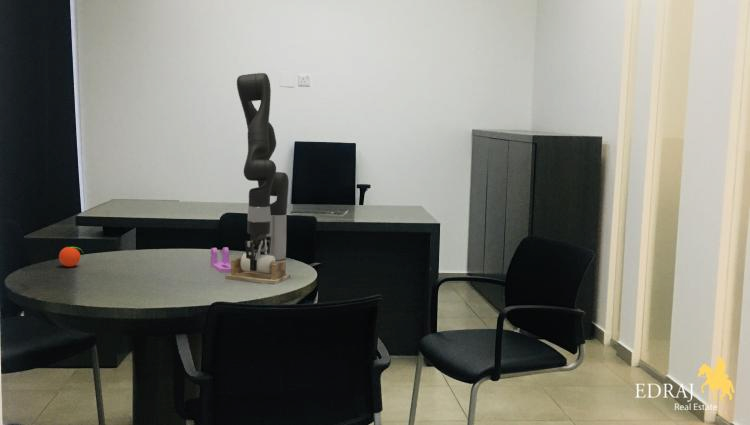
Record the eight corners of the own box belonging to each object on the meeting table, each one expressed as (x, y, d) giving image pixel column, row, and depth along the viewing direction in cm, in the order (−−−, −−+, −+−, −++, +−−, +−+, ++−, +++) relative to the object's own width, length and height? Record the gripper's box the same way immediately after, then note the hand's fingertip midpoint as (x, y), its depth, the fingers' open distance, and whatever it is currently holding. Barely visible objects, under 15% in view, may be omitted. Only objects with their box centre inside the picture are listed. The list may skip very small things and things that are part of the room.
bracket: (210, 266, 274) (210, 247, 274) (225, 265, 277) (226, 246, 276) (220, 273, 263) (221, 253, 262) (236, 272, 265) (236, 252, 265)
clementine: (84, 264, 269) (84, 244, 268) (83, 268, 262) (83, 247, 261) (59, 264, 266) (59, 244, 265) (58, 268, 260) (58, 248, 259)
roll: (238, 271, 255) (239, 254, 254) (247, 268, 261) (247, 251, 260) (268, 275, 251) (269, 257, 251) (277, 272, 257) (277, 254, 256)
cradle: (243, 272, 265) (243, 255, 264) (290, 277, 259) (290, 260, 258) (225, 278, 254) (225, 260, 253) (274, 284, 248) (274, 266, 247)
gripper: (259, 216, 262) (258, 264, 264) (238, 221, 248) (237, 271, 250) (278, 218, 259) (277, 266, 261) (258, 222, 246) (257, 274, 248)
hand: (258, 269), depth 256 cm, fingers closed on roll, 6 cm apart
